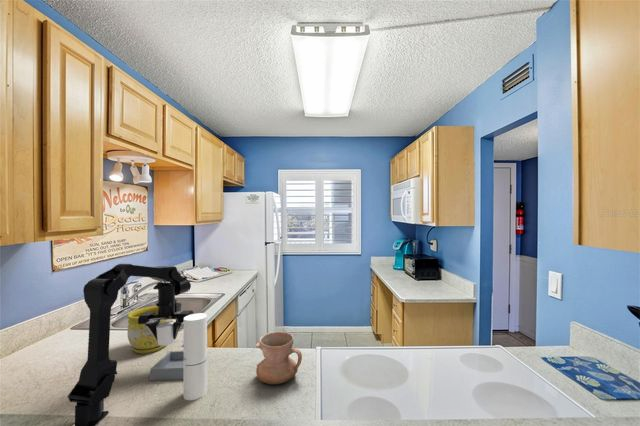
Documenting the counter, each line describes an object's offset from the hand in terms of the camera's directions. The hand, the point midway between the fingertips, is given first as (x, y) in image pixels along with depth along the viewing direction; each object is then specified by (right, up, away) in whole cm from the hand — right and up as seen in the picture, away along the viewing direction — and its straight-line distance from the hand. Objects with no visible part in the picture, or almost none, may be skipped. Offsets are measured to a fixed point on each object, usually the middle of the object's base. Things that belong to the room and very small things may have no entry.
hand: (166, 339), depth 107 cm
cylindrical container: (+18, -11, -16) cm, 26 cm away
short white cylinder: (0, -1, 0) cm, 1 cm away
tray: (+5, -12, 0) cm, 13 cm away
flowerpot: (-18, -13, +19) cm, 29 cm away
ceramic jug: (+44, -11, -7) cm, 46 cm away
